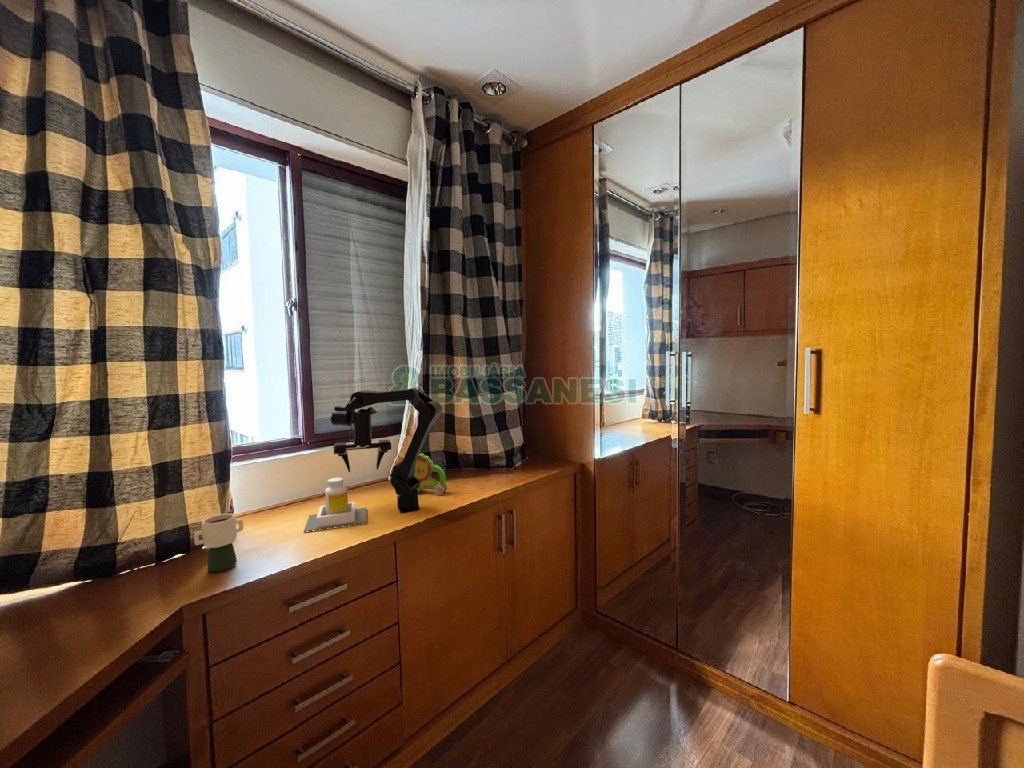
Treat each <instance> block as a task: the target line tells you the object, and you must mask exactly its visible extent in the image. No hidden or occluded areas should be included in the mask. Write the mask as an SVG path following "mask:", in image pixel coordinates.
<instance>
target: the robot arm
mask: <svg viewBox="0 0 1024 768" xmlns="http://www.w3.org/2000/svg"><path fill="white" fill-rule="evenodd" d="M402 401H408V402H410V404H411V406H412V407H413V409H415V410H416V412H417V413H418V414H417V425H416V428H415V431H414V433H413V435H412V437H411V440H410V443H409V445H408V448H407V449H406V452H405V454H404V457H403V460H402V461H399V462H398V463H396V464H394V465H393V468H392V471H391V473H390V474H389V477H390V479H389V481H390V484H391V486H392V488H393V489H394V491H395V493H396V495H397V496H396V497H397V498H396V501H397V502H396V503H397V505H396V506H397V509H398V510H399V513H409V512H415V511H420V509H421V508H420V506H419V505H420V504H419V493H418V490H417V488H419V486H420V481H419V480H418V479H417V478H416V477H415V476H414V474H415V463H416V461H417V458H418V456H419V454H421V452H422V448H423V446H424V444H425V441H426V440H427V437H428V435H429V432H430V430H431V428H432V427H433V426H434V424H435V423H436V421H437V420H439V417H440V416H441V415H442V412H443V407H442V405H441V403H439V402H438V401H436V400H433V399H432V398H431V397H429V396H427V395H426V394H424V393H423V392H421V391H420V390H419V389H418V388H415V387H412V388H406V389H397V390H388V391H377V390H369V389H364V390H358V391H354V392H352V394H351V395H350V400H349V401H348V403H347V404H346V405H345V406H341V405H337V406H334V407H333V411H332V413H331V416H330V422H331V424H332V426H335V427H351V426H352V425H353V431H352V430H351V431H348V432H349V437H348V438H349V441H350V442H352V441H353V443H351V444H347V442H346V441H345V442H335V443H334V445H333V455H338V456H337V457H341V459H342V460H343V462H344V464H345V465H346V469H347V472H348V473H350V472H351V466H350V460H349V459H350V458H349V454H348V451H354V450H355V451H356V450H370V449H377V455H376V456H377V457H376V463H375V464H376V466H375V467H376V471H378V470H379V468H380V465H381V462H382V460H383V457H384V455H385V454H386V453H389V452H388V451H391V450H392V442H391V440H390V439H389V438H388V439H379V440H378V442H372V415H375V414H377V412H378V411H377V410H376V409H374V407H373V405H376V404H380V403H393V402H402ZM368 406H369V407H368ZM365 407H368V408H365ZM356 410H358V411H356Z"/></svg>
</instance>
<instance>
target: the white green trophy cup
mask: <svg viewBox="0 0 1024 768" xmlns="http://www.w3.org/2000/svg"><path fill="white" fill-rule="evenodd" d="M237 525H238V528H237ZM241 531H244V521H243V519H242V518H239V519H236V515H235V514H234V513H221V514H214V515H212V516H209V517H207V518H205V519H203V520H202V521H201V530H199V531H196V532H194V534H193V539H194V545H195V546H199V545H203V546H205V547H206V548H207V549H208V553H207V564H206V565H207V571H210V572H220V571H221V572H222V571H225V570H228V569H231V568H233V567H234V566H235V565H236V564H237V562H238V560H237V555H236V551H235V548H234V544H233V542H235V541H236V539H237V537H238V536H237V535H238V533H240V532H241ZM200 535H202V539H200V537H199V536H200Z"/></svg>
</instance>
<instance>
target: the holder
mask: <svg viewBox="0 0 1024 768" xmlns="http://www.w3.org/2000/svg"><path fill="white" fill-rule="evenodd" d="M318 508H319V509H318V512H317V513H315V514H309V516H308V519H307V521H306V525H305V528H304V530H303V532H306V531H312V530H319V529H327V528H333V529H335V528H334V527H340V528H343V527H342V526H347V527H349V526H348V525H353V526H355V525H354V524H360V525H363V524H362V523H366V521H367V507H358V508H357V507H356V502H355V501H348V512H347V513H340V514H333V515H327V514H326V505H320V506H319V507H318ZM327 530H328V529H327Z"/></svg>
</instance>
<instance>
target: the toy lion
mask: <svg viewBox="0 0 1024 768" xmlns="http://www.w3.org/2000/svg"><path fill="white" fill-rule="evenodd" d="M433 472H436V473H437V474H438V475H439V479H440V482H439V481H437V479H435V478H433V477H432V473H433ZM414 476H415V477H416V478H417V479H418V480H419V481H420V486H419V488H417V490H418V494H419V493H420V492H421V491H425V490H431V491H433V493H434V494H435V496H441V495H443V494H444V493H445V492H446V491H447V490H448V484H447V477H446V476H447V475H446V473H445V471H444V469H443V467H441V466H440V465H438V464H434V461H433V460H432V459H431V458H430V456H428V455H425V454H424V453H420V454H419V456H418V458H417V461H416V463H415V474H414Z"/></svg>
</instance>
